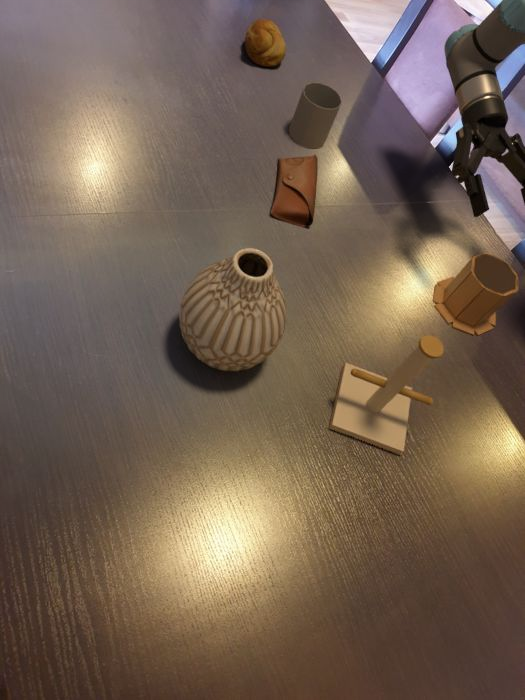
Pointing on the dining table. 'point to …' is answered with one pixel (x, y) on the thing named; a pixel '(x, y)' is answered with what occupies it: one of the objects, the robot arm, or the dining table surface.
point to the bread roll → (265, 43)
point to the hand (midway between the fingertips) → (510, 216)
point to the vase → (234, 312)
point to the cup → (314, 115)
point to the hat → (476, 294)
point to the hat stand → (381, 399)
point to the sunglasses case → (296, 190)
